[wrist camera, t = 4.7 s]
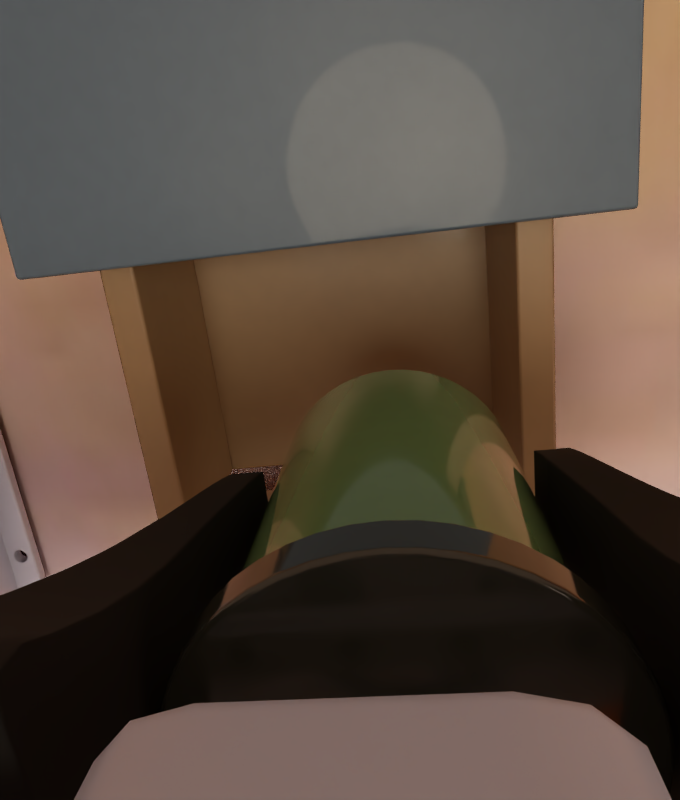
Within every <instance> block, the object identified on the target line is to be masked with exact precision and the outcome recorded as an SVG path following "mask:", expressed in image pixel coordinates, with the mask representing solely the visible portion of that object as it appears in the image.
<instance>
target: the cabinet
mask: <svg viewBox="0 0 680 800" xmlns="http://www.w3.org/2000/svg"><path fill="white" fill-rule="evenodd" d="M643 17H644V0H0V219H1V222H2V226H3V230H4V233H5V237H6V240H7V244H8V248H9V251H10V255H11V258H12V262H13V266H14V269H15V273H16V277H17V278H18V279H20V280H23V279H32V278H41V277H49V276H58V275H67V274H75V273H84V272H93V271H101V270H110V269H119V268H127V267H136V266H145V265H153V264H162V263H170V262H179V261H188V260H196V259H205V258H214V257H222V256H231V255H240V254H248V253H257V252H266V251H274V250H283V249H292V248H300V247H309V246H317V245H326V244H335V243H343V242H352V241H361V240H369V239H378V238H387V237H395V236H404V235H413V234H421V233H430V232H439V231H447V230H456V229H464V228H473V227H482V226H490V225H499V224H508V223H516V222H525V221H534V220H542V219H551V218H560V217H568V216H577V215H586V214H594V213H603V212H611V211H620V210H629V209H635V208H637V206H638V186H639V152H640V119H641V85H642V51H643Z"/></svg>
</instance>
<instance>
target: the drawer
mask: <svg viewBox="0 0 680 800" xmlns="http://www.w3.org/2000/svg"><path fill="white" fill-rule="evenodd" d="M100 274H101V278H102V282H103V287H104V291H105V295H106V299H107V304H108V308H109V312H110V316H111V321H112V325H113V329H114V333H115V338H116V342H117V346H118V351H119V355H120V359H121V363H122V368H123V372H124V376H125V380H126V385H127V389H128V393H129V397H130V402H131V406H132V410H133V414H134V419H135V423H136V427H137V432H138V436H139V440H140V444H141V449H142V453H143V457H144V461H145V466H146V470H147V474H148V478H149V483H150V487H151V491H152V495H153V500H154V504H155V508H156V513H157V517H158V519H160V518H162V517H163V516H165V515H167V514H168V513H170V512H171V511H173V510H174V509H176V508H177V507H179V506H180V505H182V504H183V503H185V502H186V501H188V500H189V499H191V498H192V497H194V496H195V495H197V494H198V493H200V492H201V491H203V490H204V489H206V488H207V487H209V486H211V485H212V484H214V483H215V482H217V481H219V480H220V479H222V478H224V477H226V476H229V475H230V473H231V472H232V469H239V468H252V467H265V466H278V465H283V463H284V460H285V458H286V455H287V453H288V450H289V447H290V445H291V442H292V440H293V437H294V434H295V432H296V431H297V429H298V427H299V425H300V423H301V421H302V420H303V418H304V417H305V416H306V414H307V413H308V411H309V410H310V409H311V408H312V407H313V406H314V405H315V404H316V403H317V402H318V401H319V400H320V399H321V398H322V397H324V396H325V395H326V394H327V393H329V392H330V391H331V390H333V389H334V388H336V387H338V386H339V385H341V384H343V383H345V382H347V381H349V380H352V379H354V378H356V377H359V376H362V375H366V374H369V373H373V372H379V371H385V370H413V371H421V372H426V373H430V374H435V375H437V376H440V377H443V378H446V379H448V380H451V381H453V382H454V383H456V384H458V385H460V386H462V387H464V388H465V389H467V390H468V391H470V392H471V393H472V394H474V395H475V396H476V397H477V398H479V399H480V400H481V401H482V402H483V403H484V404H485V405H486V406H487V407H488V408H489V409H490V411H491V412H492V413H493V414H494V416H495V417H496V418H497V420H498V422H499V423H500V425H501V427H502V428H503V430H504V432H505V434H506V436H507V438H508V441H509V443H510V445H511V447H512V449H513V451H514V453H515V456H516V458H517V460H518V462H519V464H520V466H521V468H522V470H523V473H524V475H525V477H526V479H527V481H528V483H529V485H530V488H531V490H532V492H533V494H534V496H535V479H534V451H536V450H548V449H556V423H555V331H554V240H553V218H551V219H542V220H534V221H525V222H516V223H508V224H499V225H490V226H482V227H473V228H464V229H456V230H447V231H439V232H430V233H421V234H413V235H404V236H395V237H387V238H378V239H369V240H361V241H352V242H343V243H335V244H326V245H317V246H309V247H300V248H292V249H283V250H274V251H266V252H257V253H248V254H240V255H231V256H222V257H214V258H205V259H196V260H188V261H179V262H170V263H162V264H153V265H145V266H136V267H127V268H119V269H110V270H101V271H100ZM266 492H267V498H268V502H269V499H270V497H271V494H272V492H273V490H266Z"/></svg>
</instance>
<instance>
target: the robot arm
mask: <svg viewBox="0 0 680 800" xmlns="http://www.w3.org/2000/svg"><path fill="white" fill-rule="evenodd" d="M534 479H535V498H536V500H537V502H538V505H539V507H540V509H541V511H542V513H543V515H544V517H545V519H546V522H547V524H548V526H549V528H550V530H551V532H552V534H553V537H554V539H555V541H556V543H557V545H558V547H559V549H560V551H561V554H562V556H563V558H564V560H565V562H566V564H567V566H568V569H569V570H570V571H572V572H573V573H575V574H576V575H578V576H579V577H581V578H582V579H583V580H584V581H585V582H586V583H587V584H589V585H590V586H591V587H592V588H593V589H594V590H595V591H596V592H598V593H599V594H600V595H601V596H602V597H603V598H604V599H605V600H606V601H607V602H608V603H609V605H610V606H611V607H612V608H613V609H614V610H615V612H616V613H617V614H618V615H619V616H620V618H621V619H622V620H623V621H624V623H625V624H626V626H627V627H628V629H629V631H630V632H631V634H632V636H633V637H634V639H635V641H636V642H637V644H638V646H639V647H640V649H641V651H642V653H643V655H644V657H645V658H646V660H647V662H648V664H649V666H650V668H651V669H652V671H653V673H654V675H655V677H656V679H657V681H658V683H659V686H660V688H661V691H662V693H663V696H664V698H665V701H666V703H667V706H668V709H669V714H670V718H671V723H672V728H673V733H674V757H675V767H674V774H673V780H672V787H671V793H670V795H669V792H668V790H667V788H666V786H665V784H664V782H663V779H662V777H661V775H660V773H659V771H658V769H657V766H656V764H655V762H654V760H653V758H652V756H651V753H650V751H649V749H648V747H647V746H646V745H645V744H644V743H642V742H641V741H640V740H638V739H637V738H636V737H634V736H633V735H632V734H630V733H629V732H627V731H626V730H625V729H623V728H622V727H621V726H619V725H618V724H617V723H615V722H614V721H612V720H611V719H610V718H608V717H607V716H606V715H604V714H603V713H602V712H600V711H599V710H598V709H596V708H595V707H593V706H592V705H590V704H584V703H578V702H572V701H566V700H560V699H555V698H549V697H543V696H537V695H531V694H525V693H519V692H514V691H510V692H483V693H457V694H430V695H403V696H376V697H350V698H323V699H296V700H269V701H243V702H216V703H193V704H190V705H186V706H182V707H179V708H175V709H171V710H167V711H164V712H160V706H161V700H162V696H163V693H164V690H165V687H166V684H167V681H168V678H169V675H170V673H171V670H172V668H173V666H174V664H175V662H176V659H177V657H178V655H179V653H180V650H181V648H182V646H183V644H184V642H185V640H186V638H187V636H188V634H189V632H190V630H191V628H192V627H193V625H194V623H195V621H196V619H197V618H198V617H199V615H200V614H201V613H202V611H203V610H204V609H205V607H206V606H207V605H208V603H209V602H210V601H211V599H212V598H213V597H214V596H215V595H216V594H217V593H218V592H219V591H220V590H221V589H222V588H223V587H224V586H225V585H226V584H227V583H228V582H229V581H230V580H231V579H232V578H234V577H235V576H236V575H238V574H239V573H240V572H242V569H243V567H244V564H245V562H246V559H247V556H248V554H249V551H250V549H251V546H252V543H253V541H254V538H255V536H256V533H257V530H258V528H259V525H260V523H261V520H262V517H263V515H264V512H265V510H266V507H267V504H268V498H267V492H266V486H265V480H264V475H263V472H253V473H240V474H231V475H229V476H226V477H224V478H222V479H220V480H219V481H217V482H215V483H214V484H212V485H211V486H209V487H207V488H206V489H204V490H203V491H201V492H200V493H198V494H197V495H195V496H194V497H192V498H191V499H189V500H188V501H186V502H185V503H183V504H182V505H180V506H179V507H177V508H176V509H174V510H173V511H171V512H170V513H168V514H167V515H165V516H163V517H162V518H160V519H158V520H157V521H155V522H153V523H152V524H150V525H148V526H147V527H145V528H143V529H142V530H140V531H139V532H137V533H135V534H134V535H132V536H130V537H129V538H127V539H125V540H124V541H122V542H120V543H118V544H116V545H114V546H113V547H111V548H109V549H107V550H105V551H103V552H101V553H99V554H97V555H95V556H93V557H91V558H89V559H87V560H85V561H83V562H81V563H78V564H76V565H74V566H72V567H70V568H68V569H65V570H63V571H61V572H58V573H56V574H53V575H51V576H48V577H46V578H45V572H44V569H43V566H42V563H41V559H40V556H39V553H38V550H37V546H36V543H35V540H34V537H33V533H32V530H31V527H30V524H29V520H28V517H27V514H26V511H25V507H24V504H23V501H22V498H21V494H20V491H19V488H18V485H17V481H16V478H15V475H14V472H13V468H12V465H11V462H10V459H9V455H8V452H7V449H6V446H5V442H4V439H3V436H2V433H1V429H0V800H680V498H679V497H677V496H674V495H672V494H669V493H667V492H665V491H662V490H660V489H658V488H656V487H653V486H651V485H649V484H647V483H645V482H642V481H640V480H638V479H636V478H634V477H632V476H630V475H628V474H626V473H623V472H621V471H619V470H617V469H615V468H613V467H611V466H609V465H607V464H605V463H603V462H601V461H599V460H597V459H595V458H593V457H591V456H589V455H586V454H584V453H582V452H580V451H577V450H574V449H571V448H561V449H548V450H536V451H534ZM20 551H23V552H25V553H26V555H27V556H24V555H22V554H21V552H20Z"/></svg>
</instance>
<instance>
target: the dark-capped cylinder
mask: <svg viewBox="0 0 680 800" xmlns="http://www.w3.org/2000/svg"><path fill="white" fill-rule="evenodd" d="M510 691H514V692H519V693H525V694H531V695H537V696H543V697H549V698H555V699H560V700H566V701H572V702H578V703H584V704H590V705H592V706H593V707H595V708H596V709H598V710H599V711H600V712H602V713H603V714H604V715H606V716H607V717H608V718H610V719H611V720H612V721H614V722H615V723H617V724H618V725H619V726H621V727H622V728H623V729H625V730H626V731H627V732H629V733H630V734H632V735H633V736H634V737H636V738H637V739H638V740H640V741H641V742H642V743H644V744H645V745H646V746H647V747H648V749H649V751H650V753H651V756H652V758H653V760H654V762H655V764H656V766H657V769H658V771H659V773H660V775H661V777H662V779H663V782H664V784H665V786H666V788H667V790H668V792H669V795H670V793H671V787H672V780H673V774H674V767H675V757H674V733H673V728H672V723H671V718H670V714H669V709H668V706H667V703H666V701H665V698H664V696H663V693H662V691H661V688H660V686H659V683H658V681H657V679H656V677H655V675H654V673H653V671H652V669H651V668H650V666H649V664H648V662H647V660H646V658H645V657H644V655H643V653H642V651H641V649H640V647H639V646H638V644H637V642H636V641H635V639H634V637H633V636H632V634H631V632H630V631H629V629H628V627H627V626H626V624H625V623H624V621H623V620H622V619H621V618H620V616H619V615H618V614H617V613H616V612H615V610H614V609H613V608H612V607H611V606H610V605H609V603H608V602H607V601H606V600H605V599H604V598H603V597H602V596H601V595H600V594H599V593H598V592H596V591H595V590H594V589H593V588H592V587H591V586H590V585H589V584H587V583H586V582H585V581H584V580H583V579H582V578H581V577H579V576H578V575H576V574H575V573H573V572H572V571H570V570H569V569H568V566H567V564H566V562H565V560H564V558H563V556H562V554H561V551H560V549H559V547H558V545H557V543H556V541H555V539H554V537H553V534H552V532H551V530H550V528H549V526H548V524H547V522H546V519H545V517H544V515H543V513H542V511H541V509H540V507H539V505H538V502H537V500H536V498H535V496H534V494H533V492H532V490H531V488H530V485H529V483H528V481H527V479H526V477H525V475H524V473H523V470H522V468H521V466H520V464H519V462H518V460H517V458H516V456H515V453H514V451H513V449H512V447H511V445H510V443H509V441H508V438H507V436H506V434H505V432H504V430H503V428H502V427H501V425H500V423H499V422H498V420H497V418H496V417H495V416H494V414H493V413H492V412H491V411H490V409H489V408H488V407H487V406H486V405H485V404H484V403H483V402H482V401H481V400H480V399H479V398H477V397H476V396H475V395H474V394H472V393H471V392H470V391H468V390H467V389H465V388H464V387H462V386H460V385H458V384H456V383H454V382H453V381H451V380H448V379H446V378H443V377H440V376H437V375H435V374H430V373H426V372H421V371H413V370H385V371H379V372H373V373H369V374H366V375H362V376H359V377H356V378H354V379H352V380H349V381H347V382H345V383H343V384H341V385H339V386H338V387H336V388H334V389H333V390H331V391H330V392H329V393H327V394H326V395H325V396H324V397H322V398H321V399H320V400H319V401H318V402H317V403H316V404H315V405H314V406H313V407H312V408H311V409H310V410H309V411H308V413H307V414H306V416H305V417H304V418H303V420H302V421H301V423H300V425H299V427H298V429H297V431H296V432H295V434H294V437H293V440H292V442H291V445H290V447H289V450H288V453H287V455H286V458H285V460H284V463H283V466H282V468H281V471H280V473H279V476H278V479H277V481H276V484H275V486H274V489H273V492H272V494H271V497H270V499H269V502H268V504H267V507H266V510H265V512H264V515H263V517H262V520H261V523H260V525H259V528H258V530H257V533H256V536H255V538H254V541H253V543H252V546H251V549H250V551H249V554H248V556H247V559H246V562H245V564H244V567H243V569H242V572H240V573H239V574H238V575H236V576H235V577H234V578H232V579H231V580H230V581H229V582H228V583H227V584H226V585H225V586H224V587H223V588H222V589H221V590H220V591H219V592H218V593H217V594H216V595H215V596H214V597H213V598H212V599H211V601H210V602H209V603H208V605H207V606H206V607H205V609H204V610H203V611H202V613H201V614H200V615H199V617H198V618H197V619H196V621H195V623H194V625H193V627H192V628H191V630H190V632H189V634H188V636H187V638H186V640H185V642H184V644H183V646H182V648H181V650H180V653H179V655H178V657H177V659H176V662H175V664H174V666H173V668H172V670H171V673H170V675H169V678H168V681H167V684H166V687H165V690H164V693H163V696H162V700H161V706H160V712H164V711H167V710H171V709H175V708H179V707H182V706H186V705H190V704H193V703H216V702H243V701H269V700H296V699H323V698H350V697H376V696H403V695H430V694H457V693H483V692H510Z"/></svg>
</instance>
